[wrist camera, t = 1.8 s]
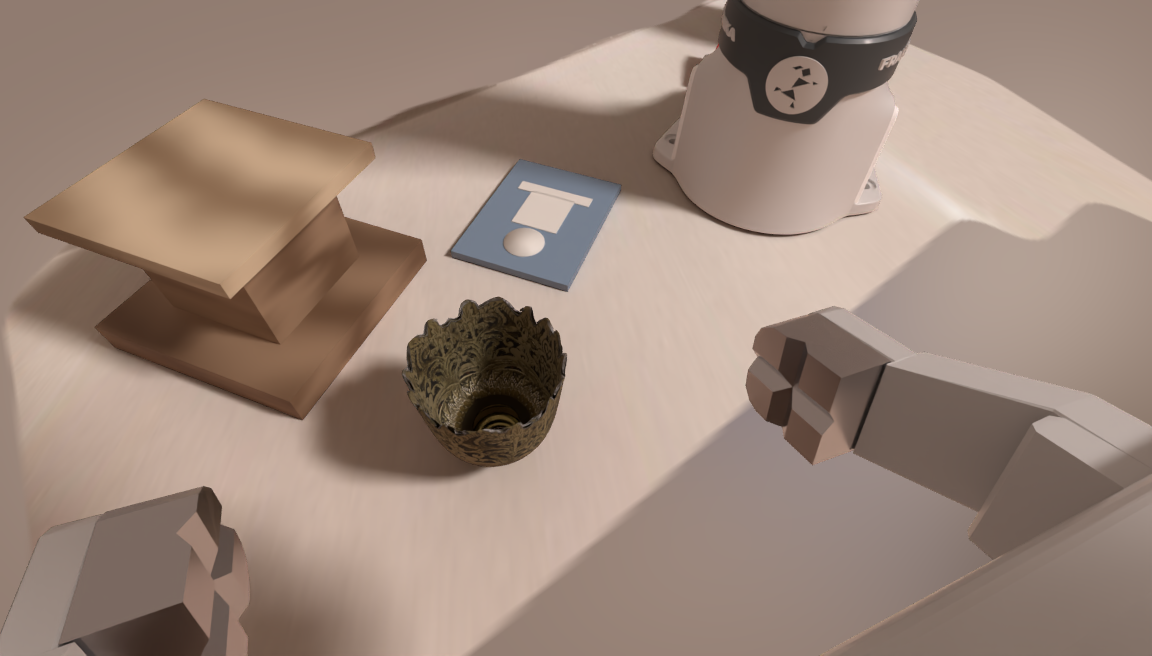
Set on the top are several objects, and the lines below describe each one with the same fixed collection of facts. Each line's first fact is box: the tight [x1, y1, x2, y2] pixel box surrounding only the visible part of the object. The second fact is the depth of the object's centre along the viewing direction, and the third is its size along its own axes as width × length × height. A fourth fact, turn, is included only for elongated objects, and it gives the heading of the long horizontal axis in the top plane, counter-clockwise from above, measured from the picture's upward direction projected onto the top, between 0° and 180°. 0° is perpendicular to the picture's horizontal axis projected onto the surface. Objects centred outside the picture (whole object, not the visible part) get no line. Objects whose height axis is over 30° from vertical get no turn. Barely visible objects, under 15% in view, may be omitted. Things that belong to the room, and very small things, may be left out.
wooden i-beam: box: [24, 99, 427, 420], centre depth 34 cm, size 14×14×10 cm
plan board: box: [451, 159, 621, 292], centre depth 43 cm, size 12×9×1 cm
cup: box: [402, 297, 567, 467], centre depth 29 cm, size 8×7×8 cm
